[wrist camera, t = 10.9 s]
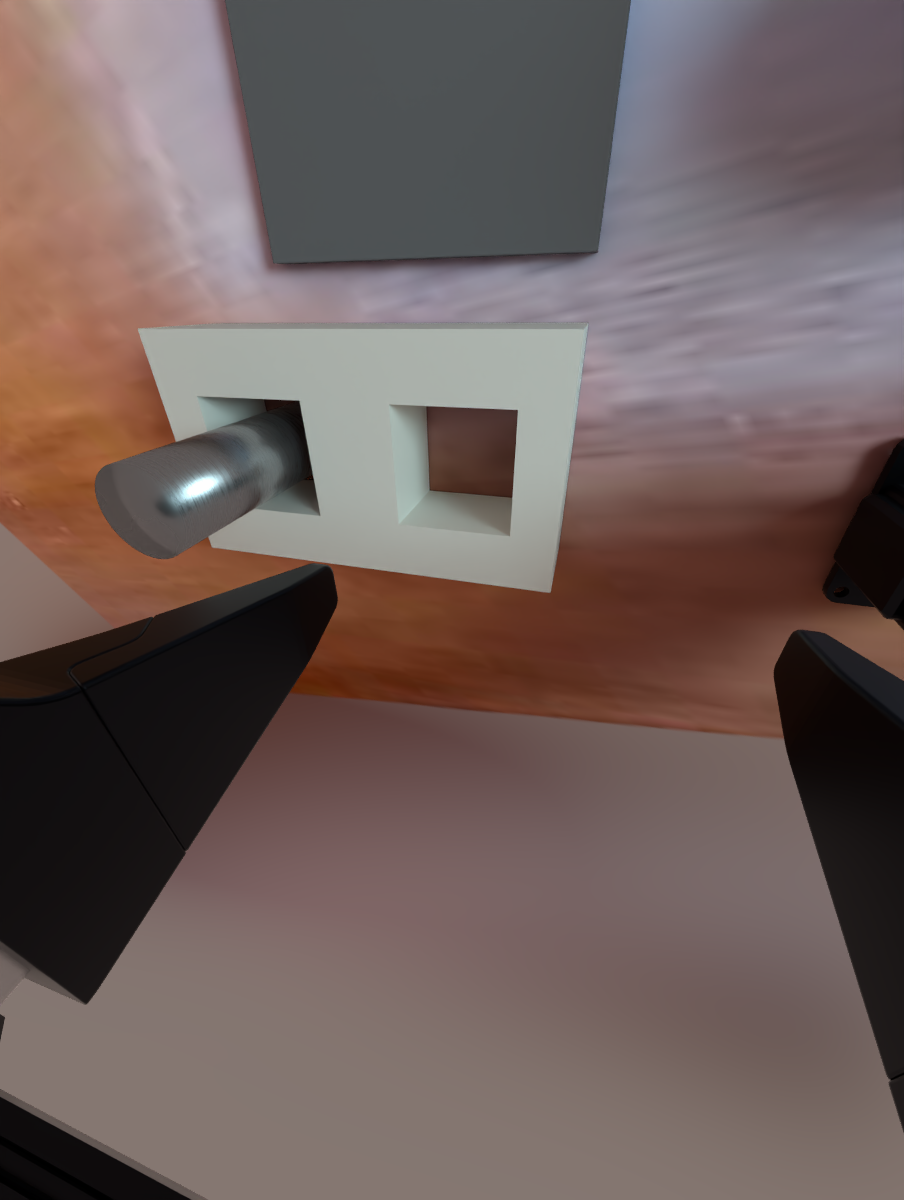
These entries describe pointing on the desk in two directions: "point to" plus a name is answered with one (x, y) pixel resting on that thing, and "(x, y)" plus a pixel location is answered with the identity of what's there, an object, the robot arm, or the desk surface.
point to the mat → (430, 124)
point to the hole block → (388, 437)
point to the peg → (203, 481)
